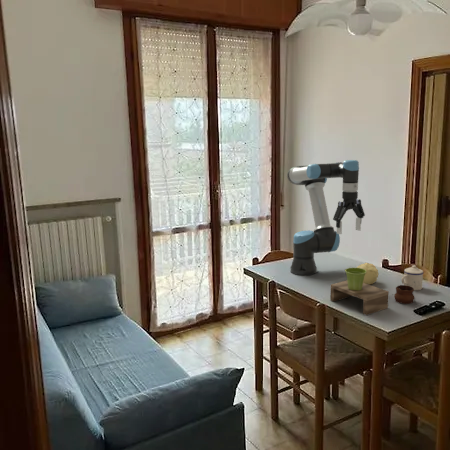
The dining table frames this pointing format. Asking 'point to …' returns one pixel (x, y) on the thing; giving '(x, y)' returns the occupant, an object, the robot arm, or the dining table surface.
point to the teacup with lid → (413, 277)
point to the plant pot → (355, 278)
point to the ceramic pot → (404, 294)
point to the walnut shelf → (362, 296)
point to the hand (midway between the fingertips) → (348, 232)
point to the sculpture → (369, 273)
